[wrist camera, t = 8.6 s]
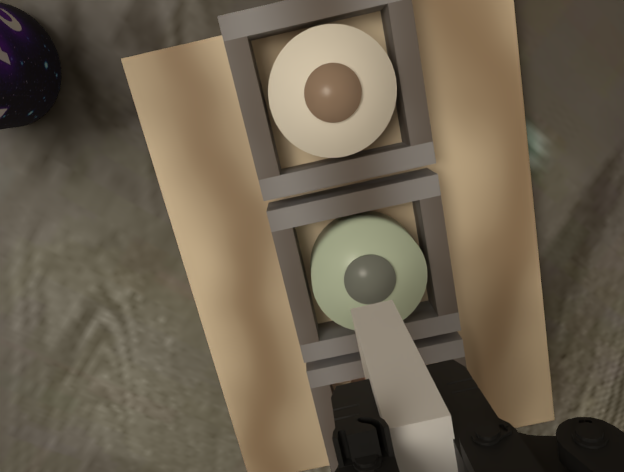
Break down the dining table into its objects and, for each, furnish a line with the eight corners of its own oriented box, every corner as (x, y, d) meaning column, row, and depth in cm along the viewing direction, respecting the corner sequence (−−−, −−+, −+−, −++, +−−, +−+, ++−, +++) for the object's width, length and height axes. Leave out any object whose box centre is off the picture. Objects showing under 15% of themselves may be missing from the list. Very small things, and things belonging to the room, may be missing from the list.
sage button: (322, 320, 27) (324, 343, 24) (300, 223, 25) (299, 238, 23) (423, 298, 27) (436, 320, 24) (406, 199, 25) (418, 212, 23)
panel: (255, 464, 32) (249, 515, 28) (131, 50, 25) (100, 43, 21) (539, 406, 31) (573, 450, 27) (492, -34, 24) (528, -57, 21)
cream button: (285, 162, 24) (284, 170, 22) (258, 45, 23) (253, 39, 20) (396, 137, 24) (407, 143, 22) (375, 18, 23) (385, 9, 20)
